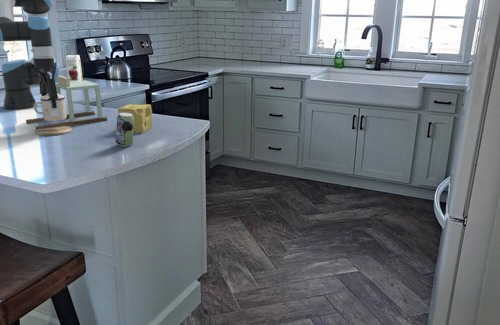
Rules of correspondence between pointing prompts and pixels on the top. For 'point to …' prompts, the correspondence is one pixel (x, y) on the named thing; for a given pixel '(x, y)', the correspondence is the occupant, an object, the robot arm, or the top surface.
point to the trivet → (53, 131)
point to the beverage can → (124, 129)
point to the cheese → (139, 116)
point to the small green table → (77, 85)
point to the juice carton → (74, 68)
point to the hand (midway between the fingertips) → (51, 114)
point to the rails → (68, 122)
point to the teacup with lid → (46, 108)
